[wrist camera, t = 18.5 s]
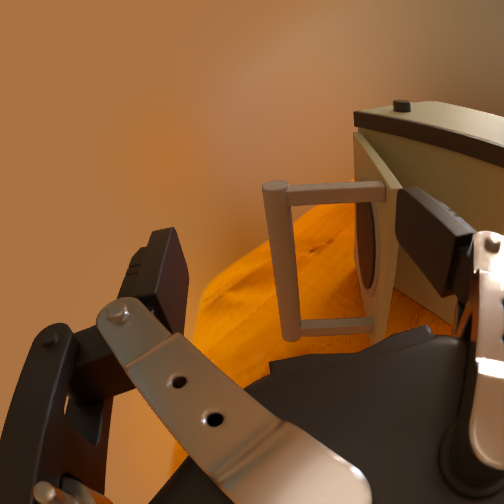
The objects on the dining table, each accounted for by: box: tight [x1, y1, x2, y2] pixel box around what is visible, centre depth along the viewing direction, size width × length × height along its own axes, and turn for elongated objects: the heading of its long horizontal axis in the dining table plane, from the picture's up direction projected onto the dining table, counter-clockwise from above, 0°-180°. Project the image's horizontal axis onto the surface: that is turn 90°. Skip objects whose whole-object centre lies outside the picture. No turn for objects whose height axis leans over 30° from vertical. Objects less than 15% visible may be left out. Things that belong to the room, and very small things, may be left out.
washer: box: [354, 100, 504, 326], centre depth 29 cm, size 16×16×19 cm
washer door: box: [262, 132, 402, 346], centre depth 27 cm, size 14×8×14 cm, turn 172°
